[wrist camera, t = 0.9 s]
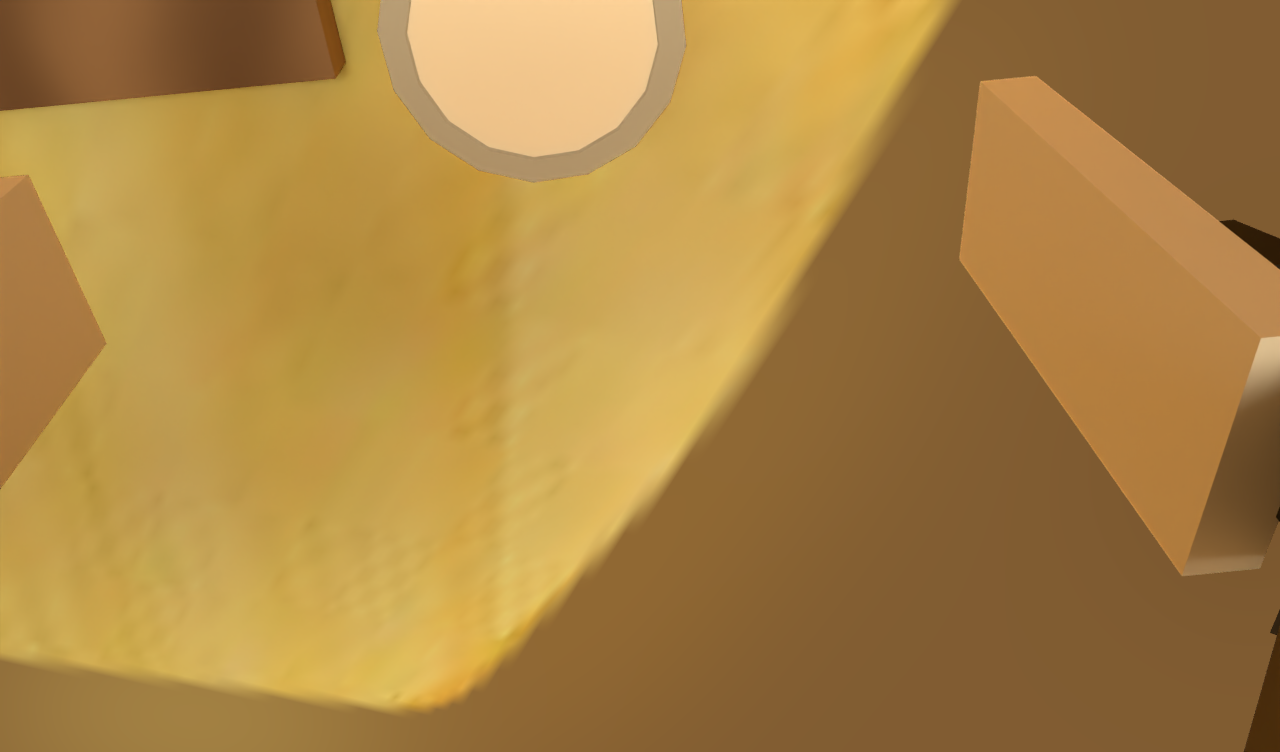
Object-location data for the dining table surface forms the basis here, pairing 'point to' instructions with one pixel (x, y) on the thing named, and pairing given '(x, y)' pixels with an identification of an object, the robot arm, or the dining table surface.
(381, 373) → the dining table surface
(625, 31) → the beige cylinder
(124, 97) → the serving board
